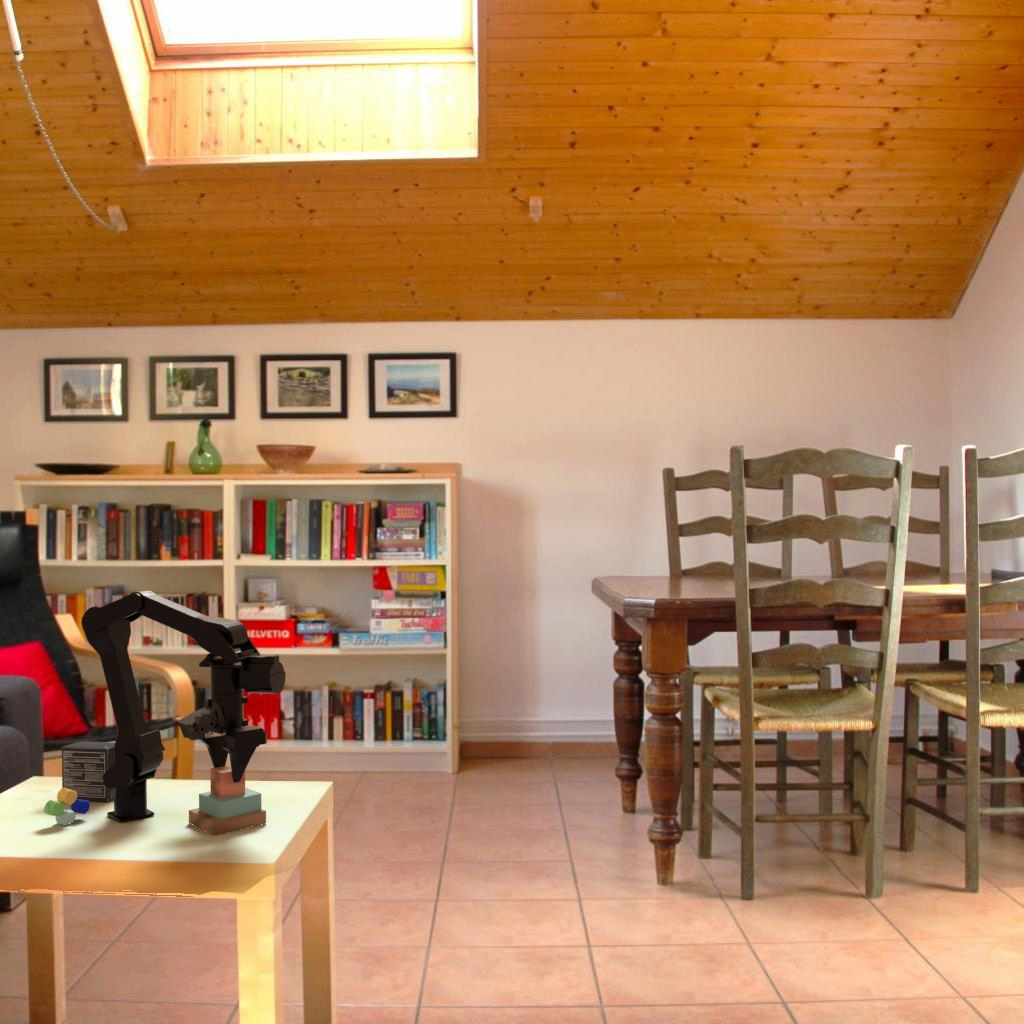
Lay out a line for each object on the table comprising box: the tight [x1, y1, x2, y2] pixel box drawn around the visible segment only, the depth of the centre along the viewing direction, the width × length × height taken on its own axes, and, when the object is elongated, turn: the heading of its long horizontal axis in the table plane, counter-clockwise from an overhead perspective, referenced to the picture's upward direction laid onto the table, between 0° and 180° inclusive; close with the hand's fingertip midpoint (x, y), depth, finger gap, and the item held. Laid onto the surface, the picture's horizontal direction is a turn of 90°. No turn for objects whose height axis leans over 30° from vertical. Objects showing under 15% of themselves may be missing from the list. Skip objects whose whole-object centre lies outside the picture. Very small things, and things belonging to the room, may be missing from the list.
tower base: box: [188, 807, 267, 837], centre depth 187 cm, size 10×10×3 cm
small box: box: [61, 741, 115, 803], centre depth 206 cm, size 11×6×10 cm, turn 77°
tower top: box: [198, 787, 263, 820], centre depth 188 cm, size 8×8×3 cm
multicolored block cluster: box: [43, 788, 91, 825], centre depth 189 cm, size 8×3×6 cm, turn 145°
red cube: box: [209, 764, 246, 799], centre depth 187 cm, size 4×4×4 cm
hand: (227, 778), depth 188 cm, fingers open, 6 cm apart
